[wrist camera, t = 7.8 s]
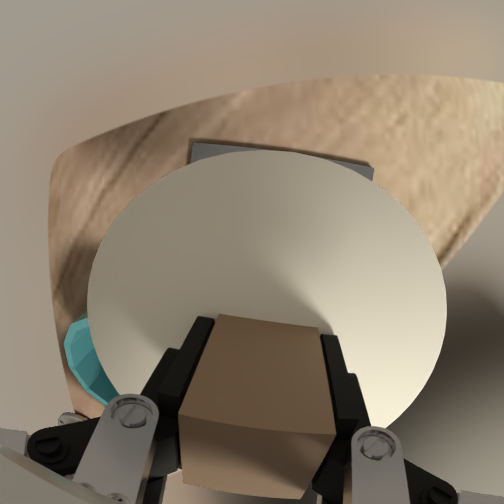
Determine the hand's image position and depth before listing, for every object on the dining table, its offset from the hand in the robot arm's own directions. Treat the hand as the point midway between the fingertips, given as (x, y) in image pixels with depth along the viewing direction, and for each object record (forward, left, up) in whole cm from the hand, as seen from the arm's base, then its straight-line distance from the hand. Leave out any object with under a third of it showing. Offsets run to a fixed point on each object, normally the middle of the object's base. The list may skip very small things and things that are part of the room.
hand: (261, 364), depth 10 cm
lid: (0, 0, -1) cm, 1 cm away
